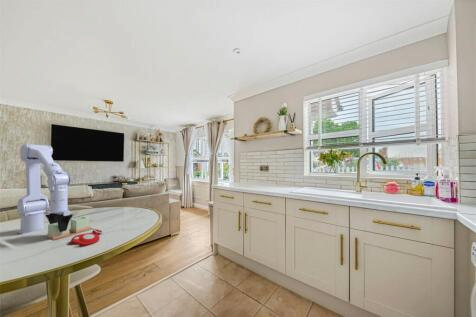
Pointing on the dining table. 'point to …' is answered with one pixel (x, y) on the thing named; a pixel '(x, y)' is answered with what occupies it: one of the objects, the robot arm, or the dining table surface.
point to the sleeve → (56, 231)
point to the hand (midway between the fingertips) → (58, 229)
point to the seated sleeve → (80, 224)
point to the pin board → (68, 235)
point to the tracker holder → (86, 238)
